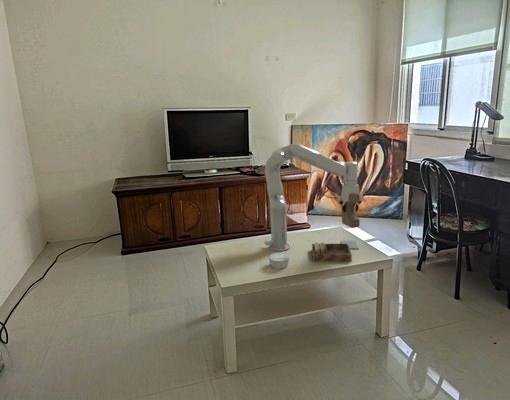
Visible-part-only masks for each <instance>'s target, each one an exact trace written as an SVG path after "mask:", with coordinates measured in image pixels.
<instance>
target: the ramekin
mask: <svg viewBox="0 0 510 400" xmlns="http://www.w3.org/2000/svg"><path fill="white" fill-rule="evenodd" d="M268 256H269V257H268V260H269V263H270V265H269V266H271V268H273V269H278V270H281V269H286V268H287V267H288V265H289V261H290V255H288V254H287V253H284V252H275V253H271V254H270V255H268Z"/></svg>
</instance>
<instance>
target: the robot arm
mask: <svg viewBox="0 0 510 400" xmlns="http://www.w3.org/2000/svg"><path fill="white" fill-rule="evenodd" d="M292 159H296V160H298V161H301V162H303V163H304V164H305V163H306V164H307V165H310V166H312V167H315V168H316V169H319V170H322V171H323V172H326V173H329V174H331V175H332V176H336V177H343V180H341V184H342V187H341V194H340V196H338V197H337V198H336V201H337V202H338V203H339V204H340V205H341V212H342V211H343V212H345V205H344V204H345V203H346V202H349V194H360V185H359V184H358V162H356V161H336V160H334V159H332V158H330V157H327V156H326V155H324V154H322V153H321V152H319V151H316V150H314V149H311V148H309V147H307V146H304V145H302V144H301V143H299V142H294V143H290V144H288V145H285V146H282V147H281V148H277V149H275V150H273V152H272V153H271V155H270V157H269V158H268V159H267V160H266V163H265V166H264V172H265V180H266V189H267V194H268V200H269V207H270V208H269V209H270V210H269V211H270V228H271V229H270V231H271V235H270V237H271V240H264V245H266V246H268V248H269V250H271V251H273V252H284V251H288V250H289V249H290V246H291V245H290V244H288V232H287V231H288V230H287V229H288V227H287V226H288V223H287V211H288V209H287V203H286V199H285V193H284V186H283V183H282V179H281V173H280V169H281V167H282V165H284V164H285V163H286V162H288V161H289V160H292ZM342 201H343V202H342ZM363 201H365V198H364V196H361V195H360V202H357V203H356V204H355V206H354V212H355V213H358V211H359V205H360V204H362V203H363Z"/></svg>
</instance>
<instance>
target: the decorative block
mask: <svg viewBox="0 0 510 400" xmlns="http://www.w3.org/2000/svg"><path fill="white" fill-rule="evenodd" d="M360 196H361V194H360V193H359V194H349V202H346V203H345V204H344V205H345V212H343V211H342V210H341V224H343V225H345V226H347V227H349V228H352V229H354V228H359V227H360V222H361V221H360V218H359V217H358V216H357V215H356V211H355V205H356V203H357V202H360V200H361V199H360ZM341 202H343V201H342V200H341Z"/></svg>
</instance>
